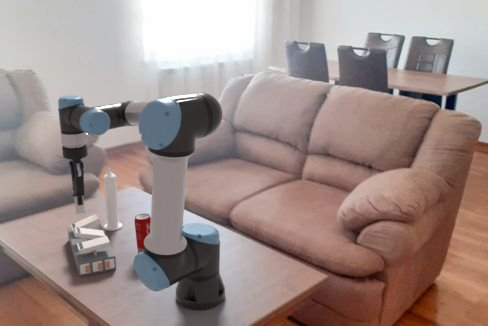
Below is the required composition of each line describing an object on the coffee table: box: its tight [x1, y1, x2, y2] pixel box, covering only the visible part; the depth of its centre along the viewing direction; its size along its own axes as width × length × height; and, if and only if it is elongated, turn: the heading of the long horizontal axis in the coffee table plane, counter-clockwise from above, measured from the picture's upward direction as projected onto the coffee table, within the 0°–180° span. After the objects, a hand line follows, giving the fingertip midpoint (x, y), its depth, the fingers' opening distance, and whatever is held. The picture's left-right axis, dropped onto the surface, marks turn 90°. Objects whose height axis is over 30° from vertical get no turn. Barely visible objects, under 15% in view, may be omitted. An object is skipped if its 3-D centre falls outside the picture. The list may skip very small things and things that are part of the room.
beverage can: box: [134, 213, 151, 254], centre depth 174 cm, size 6×6×15 cm
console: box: [67, 222, 117, 277], centre depth 174 cm, size 28×12×7 cm, turn 25°
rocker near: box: [77, 235, 111, 254], centre depth 166 cm, size 5×10×2 cm, turn 115°
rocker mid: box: [74, 227, 106, 239], centre depth 173 cm, size 5×10×2 cm, turn 115°
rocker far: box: [70, 213, 101, 233], centre depth 181 cm, size 5×10×2 cm, turn 115°
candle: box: [103, 167, 123, 232], centre depth 193 cm, size 7×7×25 cm
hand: (80, 212), depth 164 cm, fingers closed
